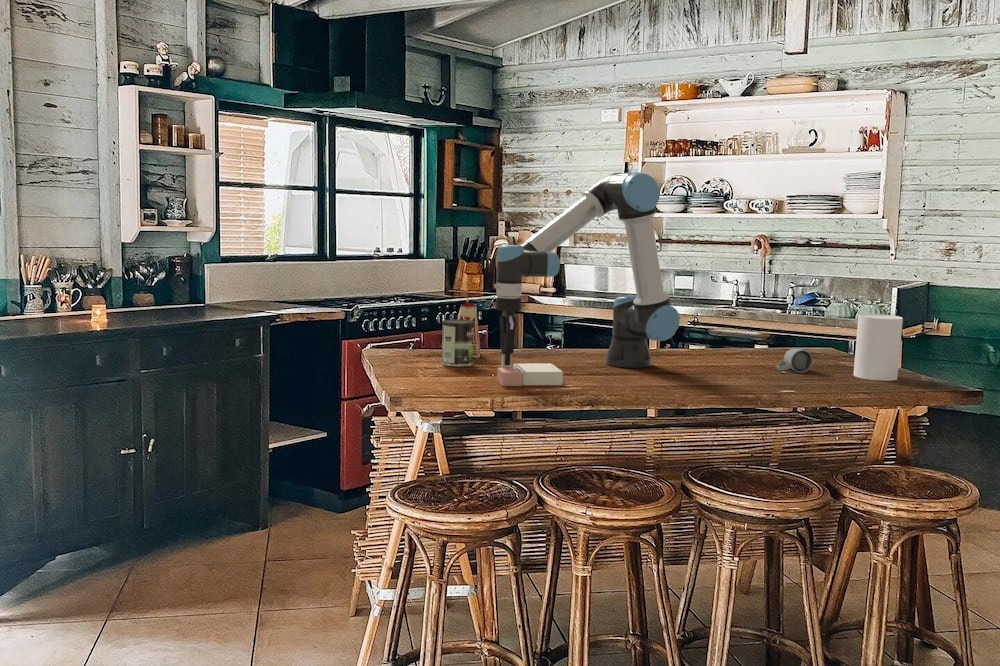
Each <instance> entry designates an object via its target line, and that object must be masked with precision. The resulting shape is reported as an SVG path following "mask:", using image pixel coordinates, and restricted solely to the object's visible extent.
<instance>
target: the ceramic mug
mask: <svg viewBox="0 0 1000 666" xmlns="http://www.w3.org/2000/svg"><path fill="white" fill-rule="evenodd" d="M813 362H814V359H813V355H812V354H811V352H809V351H808V350H806V349H801V348H795V347H794V348H790V349H789V350H787V351H786V352H785V354H784V356H783V361H781V362H779V363H778V364H776V369H777V371H779V372H780V371H781V372H782V371H786V370H789V369H790V370H792V371H794V372H796V373H800V374H802V373H806V372H808V371H809V370H810V369H811V368H812V366H813Z"/></svg>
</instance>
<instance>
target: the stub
mask: <svg viewBox="0 0 1000 666" xmlns="http://www.w3.org/2000/svg"><path fill="white" fill-rule="evenodd" d="M496 368H497V369H496V370H497V371H496V382H498V384H499V385H501V386H502V387H522V386H523V385H522V380H523V372H522V371H520V370H519V369H518V368H513V367H511V368H501V367H496Z"/></svg>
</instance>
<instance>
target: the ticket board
mask: <svg viewBox="0 0 1000 666" xmlns="http://www.w3.org/2000/svg"><path fill="white" fill-rule="evenodd" d="M512 368H518V369H519V370H520V371H522V372H523V380H522V384H523V385H522V386H563V382H564V381H563V378H564V371H562V370H561V369H560V368H558V366H555V365H554V364H553V363H551V362H550V363H549V362H548V363H543V362H542V363H540V362H539V363H531V362H530V363H529V362H528V363H517V362H515V363H513V365H512Z"/></svg>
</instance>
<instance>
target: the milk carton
mask: <svg viewBox="0 0 1000 666" xmlns="http://www.w3.org/2000/svg"><path fill="white" fill-rule="evenodd" d="M469 299H470V298H466V302H465V303H463V304H462V305H461V306H460V308H459V312H458V316H457V319H458V320H470V321H473V322H474V327H473V358H476V359H479V358H480V356H481V346H480V345H481V342H480V341H481V340H480V332H479V322H478V311H477V308H478V307H477V305H474V304H473V303H470V302H469Z"/></svg>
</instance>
